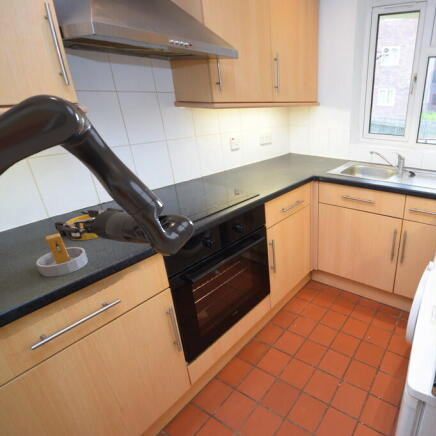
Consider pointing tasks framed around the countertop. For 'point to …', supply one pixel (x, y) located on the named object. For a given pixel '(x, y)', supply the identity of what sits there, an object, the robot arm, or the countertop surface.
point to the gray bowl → (52, 269)
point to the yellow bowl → (86, 235)
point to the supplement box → (57, 248)
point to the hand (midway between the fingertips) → (73, 219)
